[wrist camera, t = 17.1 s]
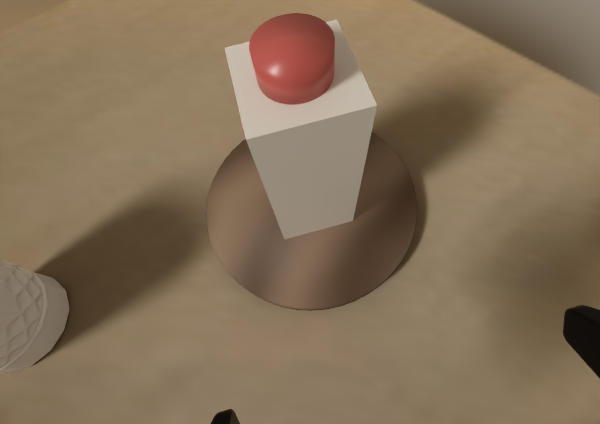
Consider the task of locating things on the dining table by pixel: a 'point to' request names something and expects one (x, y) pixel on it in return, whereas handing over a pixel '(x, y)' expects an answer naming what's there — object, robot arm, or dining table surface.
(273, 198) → the square squeeze bottle
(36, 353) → the white cup
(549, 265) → the dining table surface
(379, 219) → the walnut serving board
